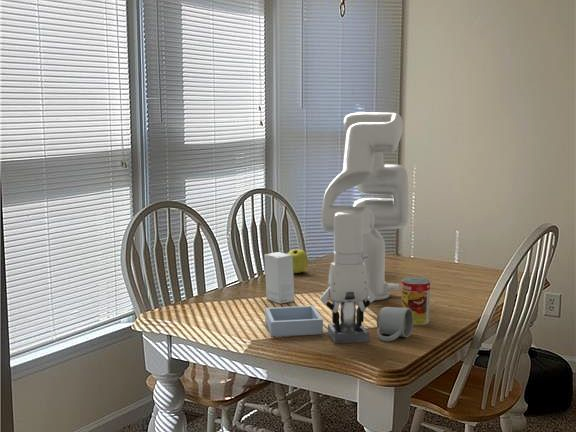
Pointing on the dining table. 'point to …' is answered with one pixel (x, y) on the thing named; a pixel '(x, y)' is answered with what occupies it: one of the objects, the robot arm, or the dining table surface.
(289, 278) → the skincare box
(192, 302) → the dining table surface
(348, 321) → the black capped silver cylinder
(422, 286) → the canned food
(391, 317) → the ceramic mug
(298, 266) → the apple
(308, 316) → the bin
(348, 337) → the socket collar
